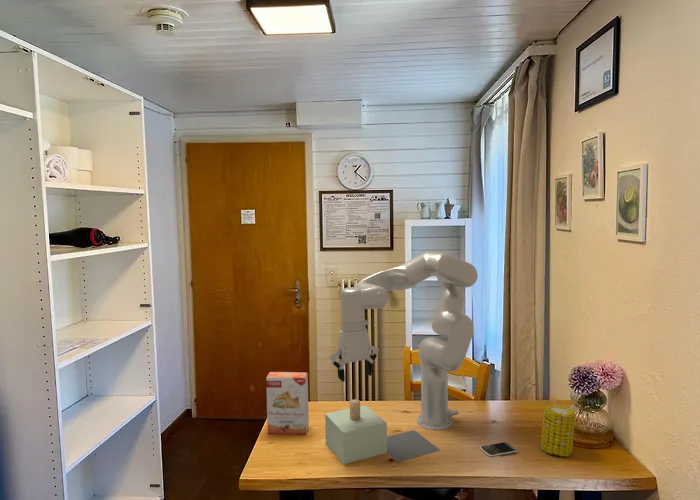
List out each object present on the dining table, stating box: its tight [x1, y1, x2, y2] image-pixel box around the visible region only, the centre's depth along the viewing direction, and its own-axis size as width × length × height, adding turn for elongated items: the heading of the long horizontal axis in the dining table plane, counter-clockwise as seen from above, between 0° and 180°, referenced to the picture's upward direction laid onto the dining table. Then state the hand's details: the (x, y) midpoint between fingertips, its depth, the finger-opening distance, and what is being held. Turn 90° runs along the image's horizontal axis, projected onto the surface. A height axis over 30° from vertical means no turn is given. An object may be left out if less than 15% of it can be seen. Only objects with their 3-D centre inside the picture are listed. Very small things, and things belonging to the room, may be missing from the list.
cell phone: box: [479, 441, 519, 458], centre depth 153 cm, size 6×11×1 cm, turn 106°
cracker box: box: [265, 371, 310, 435], centre depth 169 cm, size 14×6×21 cm, turn 86°
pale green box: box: [324, 399, 388, 466], centre depth 156 cm, size 15×15×16 cm
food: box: [540, 403, 576, 458], centre depth 152 cm, size 15×12×10 cm
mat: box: [386, 429, 441, 463], centre depth 157 cm, size 16×16×1 cm
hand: (355, 377), depth 154 cm, fingers open, 9 cm apart
